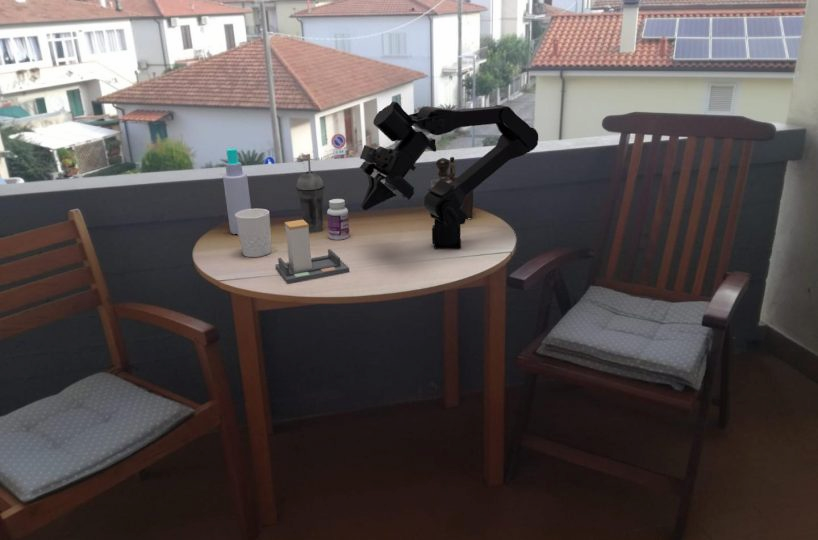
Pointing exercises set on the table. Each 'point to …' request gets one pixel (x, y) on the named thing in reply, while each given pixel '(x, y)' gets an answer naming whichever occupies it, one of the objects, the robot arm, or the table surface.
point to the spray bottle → (235, 189)
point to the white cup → (254, 232)
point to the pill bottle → (338, 220)
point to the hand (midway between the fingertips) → (362, 208)
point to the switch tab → (298, 245)
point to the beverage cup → (311, 198)
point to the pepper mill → (443, 167)
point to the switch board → (313, 268)
